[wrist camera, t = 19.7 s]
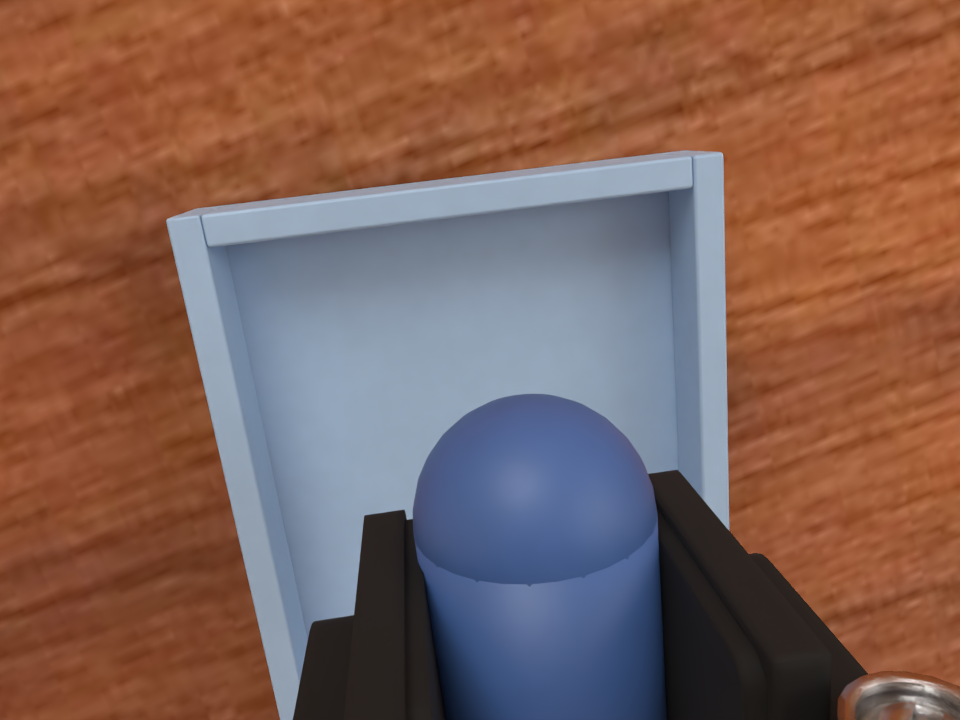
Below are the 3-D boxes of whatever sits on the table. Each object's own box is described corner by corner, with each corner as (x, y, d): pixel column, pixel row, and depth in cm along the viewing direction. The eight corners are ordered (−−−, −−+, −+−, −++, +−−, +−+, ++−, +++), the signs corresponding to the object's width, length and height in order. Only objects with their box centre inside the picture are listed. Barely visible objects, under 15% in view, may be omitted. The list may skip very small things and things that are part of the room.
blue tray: (328, 829, 20) (321, 902, 18) (193, 208, 15) (164, 219, 13) (703, 763, 21) (735, 827, 19) (685, 150, 16) (724, 151, 14)
